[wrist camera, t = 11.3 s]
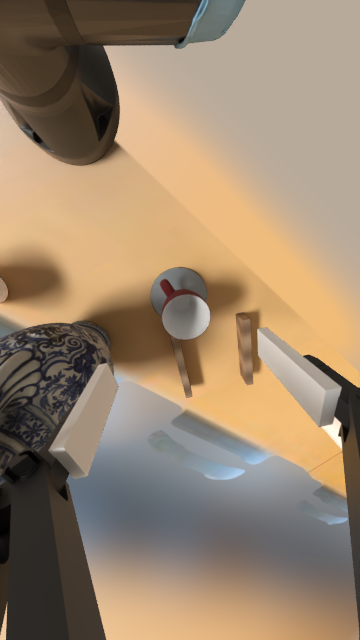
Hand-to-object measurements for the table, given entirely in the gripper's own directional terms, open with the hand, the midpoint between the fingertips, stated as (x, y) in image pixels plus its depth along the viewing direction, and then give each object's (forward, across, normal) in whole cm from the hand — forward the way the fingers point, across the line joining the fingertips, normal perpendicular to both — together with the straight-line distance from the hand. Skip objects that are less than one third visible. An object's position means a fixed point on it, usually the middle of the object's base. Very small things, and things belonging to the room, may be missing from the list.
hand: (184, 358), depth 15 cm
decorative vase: (+23, -22, -7) cm, 33 cm away
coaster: (+23, +1, -1) cm, 23 cm away
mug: (+23, 0, -1) cm, 23 cm away
